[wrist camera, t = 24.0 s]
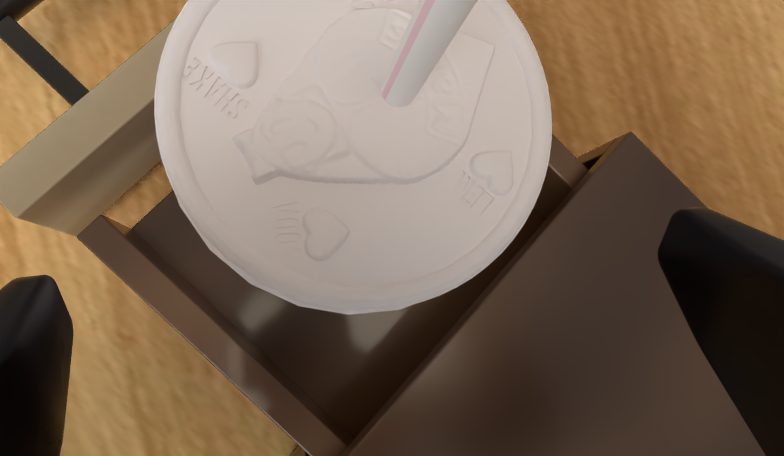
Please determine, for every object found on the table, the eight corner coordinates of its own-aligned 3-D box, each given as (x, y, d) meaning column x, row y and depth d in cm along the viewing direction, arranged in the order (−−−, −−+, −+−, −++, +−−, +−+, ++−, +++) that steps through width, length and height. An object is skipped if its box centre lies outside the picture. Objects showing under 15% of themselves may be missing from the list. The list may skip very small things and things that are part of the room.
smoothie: (456, 250, 19) (885, 125, 6) (277, 345, 18) (254, 495, 4) (367, 77, 19) (567, -463, 6) (182, 158, 18) (-142, -298, 4)
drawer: (-73, 98, 18) (-179, 37, 14) (222, -133, 20) (206, -243, 16) (383, 525, 19) (411, 587, 15) (610, 250, 21) (688, 238, 17)
